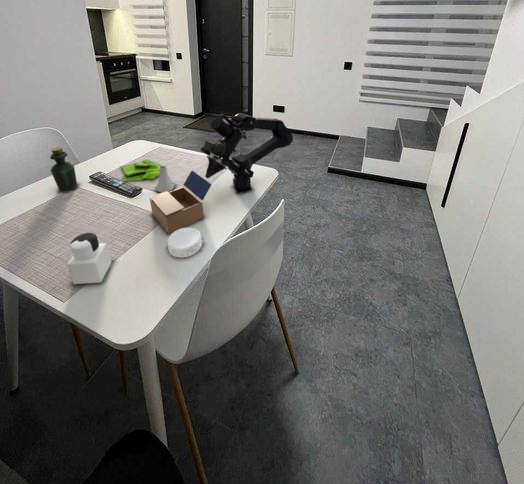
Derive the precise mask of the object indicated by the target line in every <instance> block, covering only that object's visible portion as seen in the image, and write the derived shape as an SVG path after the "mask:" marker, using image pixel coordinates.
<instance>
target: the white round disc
mask: <svg viewBox="0 0 524 484" xmlns="http://www.w3.org/2000/svg"><path fill="white" fill-rule="evenodd" d="M202 244H203V240H202V233H201V232H200V231H199V230H198V229H197V228H194V227H183V228H181V229H179V230H176V231H174V232H172V233H170V234H169V236H168V238H167V248H168V252H169V254H170V255H172V256H173V257H175V258H182V259H183V258H188V257H191V256H193V255H195V254H196V253H198V251H199V250H200V249H201V247H202Z"/></svg>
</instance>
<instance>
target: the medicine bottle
mask: <svg viewBox="0 0 524 484" xmlns="http://www.w3.org/2000/svg"><path fill="white" fill-rule="evenodd" d="M69 246H70V247H69V248H70V250H71V253H72V256H71V258H70V259H69V260H68V261H67V263H66V266H67V269H68V272H69V275H70V279H71V282H72V284H73V285H82V284H83V285H84V284H97V283H98V284H99V283H102V282H103V280H104V278H105V276H106V274H107V272H108V270H109V269H110V266H111V265H112V259H111V254H110V251H109V248H108V244H107V243H100V242H99V239H98V235H97V234H96V233H93V232H84V233H81V234H79V235H77V236H75V237H74V238H73V239H72V240H71V241H70V244H69Z"/></svg>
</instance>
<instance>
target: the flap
mask: <svg viewBox="0 0 524 484" xmlns="http://www.w3.org/2000/svg"><path fill="white" fill-rule="evenodd" d="M183 187H185V188H186V189H187V190H188V191H189V192H191V193H192V194H193V195H194V196H195V197H197V198H198V199H199V200H200V201H201V202H202V201H204V199H205V197H206V196H207V194H208V192H209V191H210V189H211V187H212V183H211V182H209V180H206V179H205V178H204V177H202V176H201V175H200V174H198V173H197V172H195V170H193V169H192V170H191V171H190V173H189V174H188V176H187V178H186V179H185V181H184V183H183Z"/></svg>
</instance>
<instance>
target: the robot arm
mask: <svg viewBox="0 0 524 484" xmlns="http://www.w3.org/2000/svg"><path fill="white" fill-rule="evenodd" d="M209 126H210V129H211V130H213V132H215V133H216V134H218V135H219V136H220V137H222V139H219V140H217V141H211V140H207V139H205V141H204V143H203V146H202V147H201V148H200V149H199V151H200V152H202V153H204V154H205V155H206V158H207V161H208V163H207V168H206V173H205V174H204V177H205V178H206V179H210V178H211V177H213V176H215V175H217V174H218V173H219V172H221V171H223V170H227V169H228V171H230V173H231V174H233V178H232V187H233V189H234V190H235V192H236V193H237V194H240V193H245V192H251V191H252V190H253V188H252V187H251V178H253V177H254V174H255V173H254V170H252V167H253V165H255V164H256V163H258V161H260V160H261V159H263V158H265V157H266V156H268V155H269V154H271V153H273V152H274V151H275V150H277V149H282V148H286V147H288V146H291V144H292V143H293V140H294V137H293V134H292V132H291V131H290V129H289V128H288V127H287V126H286V125H285V123H284V121H283V120H281V119H278V118H269V117H268V118H267V117H256V116H255V117H254V116H251V115H249V114H245V113H241V112H238V113H236V115H235V116H232V117H230V118H229V117H228V116H227V115H226V114H224V113H220V115H218V116H216V117H215V118H213V119H212V120H211V122H210V125H209ZM255 129H271V133H272V135H271V138H270V139H269V140H267V141H265V142H264V143H262V144H261V145H259V146H257V147H256V148H254V149H252V150H251V151H250V152H248V153H246V154H243V153H242V152H238V153H236V152H237V149H236V148H237V147H238V144H239V143H240V141H241V140H242V139H243V140H247V133H246V132H249V131H253V130H254V131H255ZM232 153H236V154H235V155H234V156H231V155H232ZM230 157H231V158H230Z"/></svg>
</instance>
